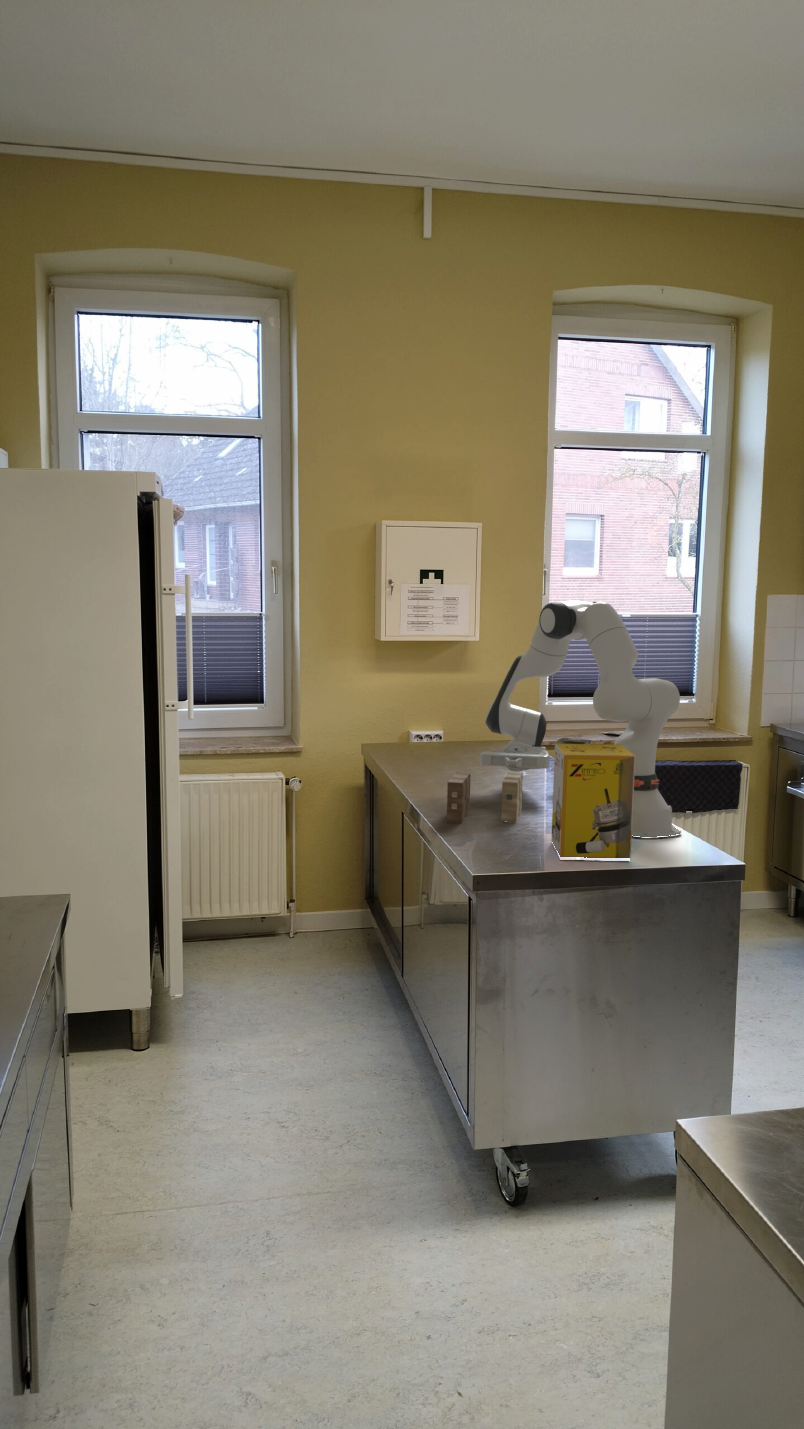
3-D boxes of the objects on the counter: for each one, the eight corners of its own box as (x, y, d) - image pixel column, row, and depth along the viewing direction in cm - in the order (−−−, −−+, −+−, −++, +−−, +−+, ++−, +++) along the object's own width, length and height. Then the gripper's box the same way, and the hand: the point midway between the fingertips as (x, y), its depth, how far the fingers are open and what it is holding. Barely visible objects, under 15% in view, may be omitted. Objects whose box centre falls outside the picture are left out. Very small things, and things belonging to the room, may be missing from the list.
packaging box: (630, 862, 234) (635, 756, 231) (560, 861, 234) (564, 754, 231) (617, 843, 250) (621, 744, 247) (551, 842, 250) (554, 743, 247)
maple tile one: (507, 810, 284) (508, 772, 283) (521, 811, 283) (522, 773, 282) (501, 822, 270) (502, 782, 269) (515, 823, 269) (517, 783, 268)
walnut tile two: (455, 810, 283) (456, 772, 281) (469, 811, 282) (470, 773, 281) (446, 822, 269) (447, 782, 268) (461, 823, 268) (462, 783, 267)
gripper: (482, 744, 304) (476, 751, 291) (551, 747, 300) (547, 754, 286) (482, 765, 305) (475, 773, 291) (550, 768, 301) (547, 776, 287)
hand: (512, 763), depth 289 cm, fingers closed
